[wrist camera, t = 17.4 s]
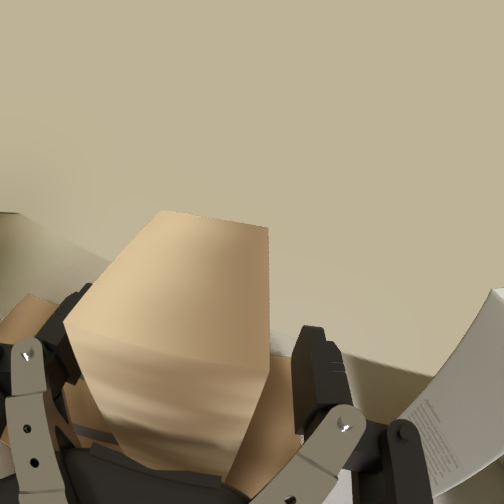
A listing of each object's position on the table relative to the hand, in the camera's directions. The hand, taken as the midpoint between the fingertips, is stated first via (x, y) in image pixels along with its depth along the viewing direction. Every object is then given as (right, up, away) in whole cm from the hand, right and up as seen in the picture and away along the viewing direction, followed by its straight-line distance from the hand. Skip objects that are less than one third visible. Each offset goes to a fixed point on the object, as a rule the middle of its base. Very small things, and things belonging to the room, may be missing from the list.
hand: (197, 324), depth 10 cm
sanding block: (-1, -6, +2) cm, 7 cm away
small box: (+14, -12, +2) cm, 19 cm away
